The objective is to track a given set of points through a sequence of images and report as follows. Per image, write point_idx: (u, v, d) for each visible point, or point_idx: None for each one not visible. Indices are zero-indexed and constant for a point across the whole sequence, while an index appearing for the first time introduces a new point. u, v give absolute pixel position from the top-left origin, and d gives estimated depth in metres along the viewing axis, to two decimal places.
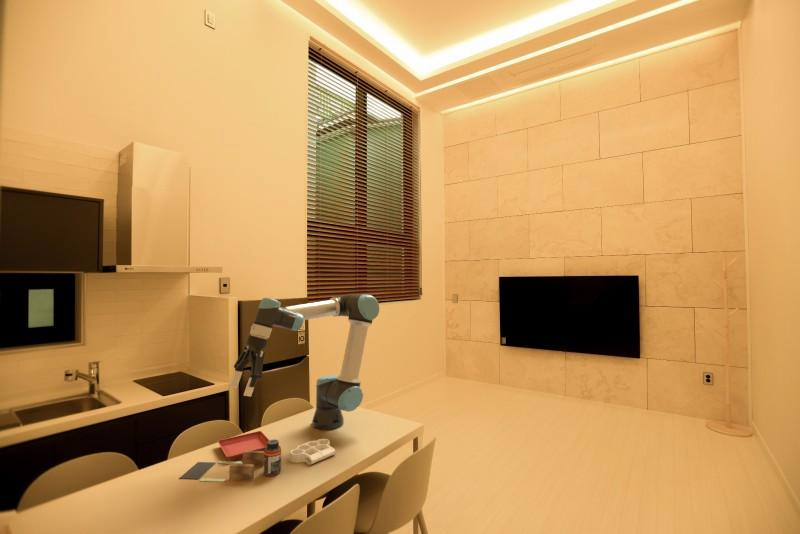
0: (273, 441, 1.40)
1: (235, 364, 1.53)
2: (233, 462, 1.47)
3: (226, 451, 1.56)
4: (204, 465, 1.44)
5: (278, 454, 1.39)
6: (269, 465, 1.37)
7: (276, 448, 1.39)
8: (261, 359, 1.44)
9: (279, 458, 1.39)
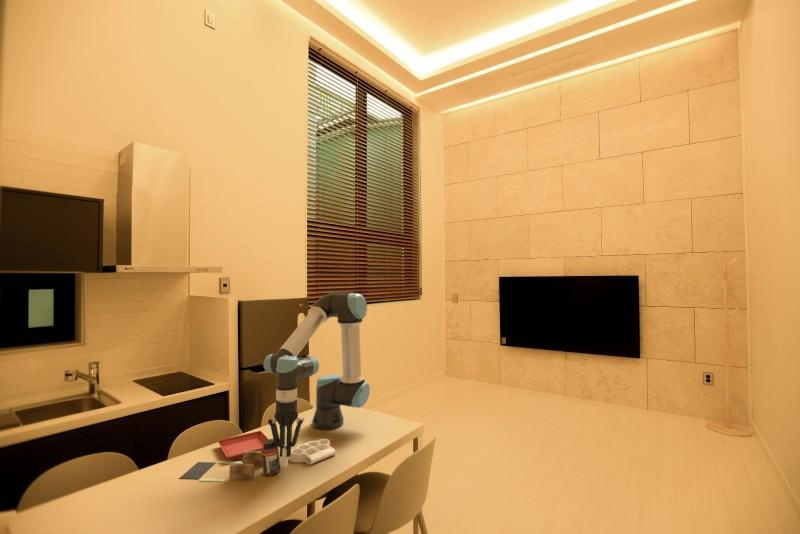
0: (269, 441, 1.40)
1: (275, 442, 1.39)
2: (233, 462, 1.47)
3: (226, 451, 1.56)
4: (204, 465, 1.44)
5: (275, 453, 1.38)
6: (267, 464, 1.37)
7: (272, 447, 1.39)
8: None
9: (276, 456, 1.39)
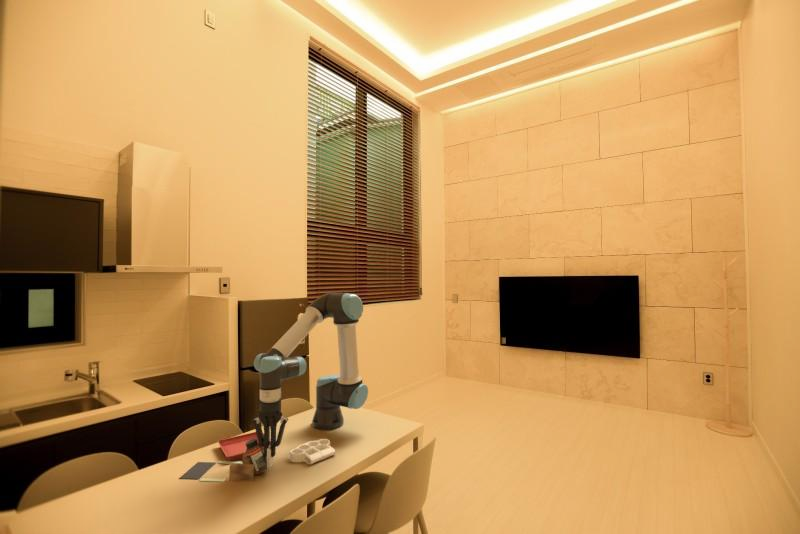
0: (251, 441, 1.40)
1: (260, 442, 1.39)
2: (233, 462, 1.47)
3: (226, 451, 1.56)
4: (204, 465, 1.44)
5: (259, 450, 1.39)
6: (254, 463, 1.37)
7: (256, 445, 1.39)
8: (284, 427, 1.41)
9: (262, 453, 1.39)
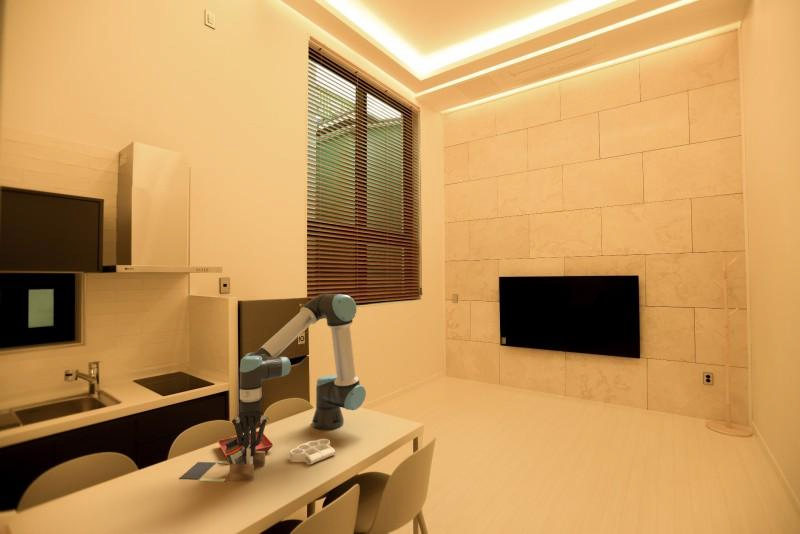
0: (231, 440, 1.40)
1: (239, 442, 1.39)
2: None
3: None
4: (204, 465, 1.44)
5: (239, 450, 1.39)
6: (234, 462, 1.37)
7: (235, 445, 1.39)
8: (264, 426, 1.41)
9: (242, 453, 1.39)
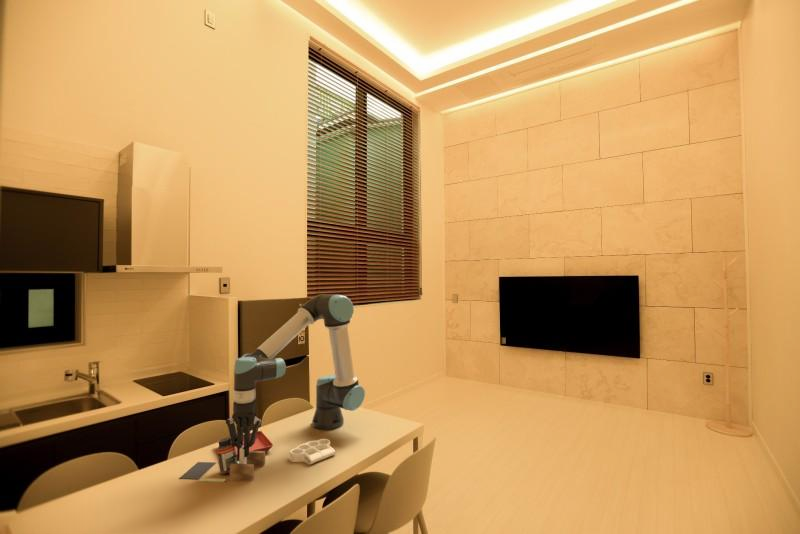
0: (224, 439, 1.41)
1: (233, 442, 1.40)
2: None
3: None
4: (204, 465, 1.44)
5: (231, 450, 1.39)
6: (224, 462, 1.37)
7: (228, 444, 1.40)
8: (257, 427, 1.41)
9: (233, 453, 1.40)
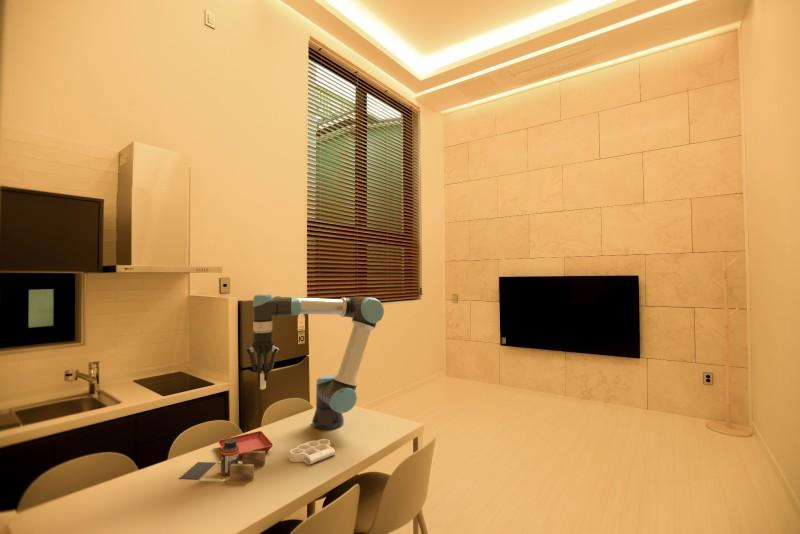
0: (230, 440, 1.40)
1: (253, 368, 1.58)
2: None
3: None
4: (204, 465, 1.44)
5: (235, 453, 1.39)
6: (226, 464, 1.37)
7: (234, 447, 1.39)
8: (275, 355, 1.60)
9: (236, 457, 1.39)
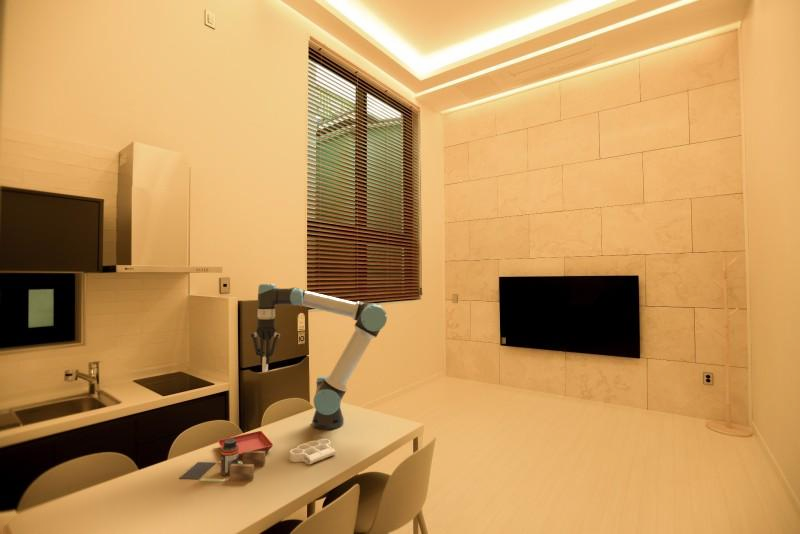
0: (230, 440, 1.40)
1: (257, 352, 1.71)
2: None
3: None
4: (204, 465, 1.44)
5: (235, 453, 1.39)
6: (226, 464, 1.37)
7: (233, 447, 1.39)
8: (277, 340, 1.72)
9: (236, 457, 1.39)
